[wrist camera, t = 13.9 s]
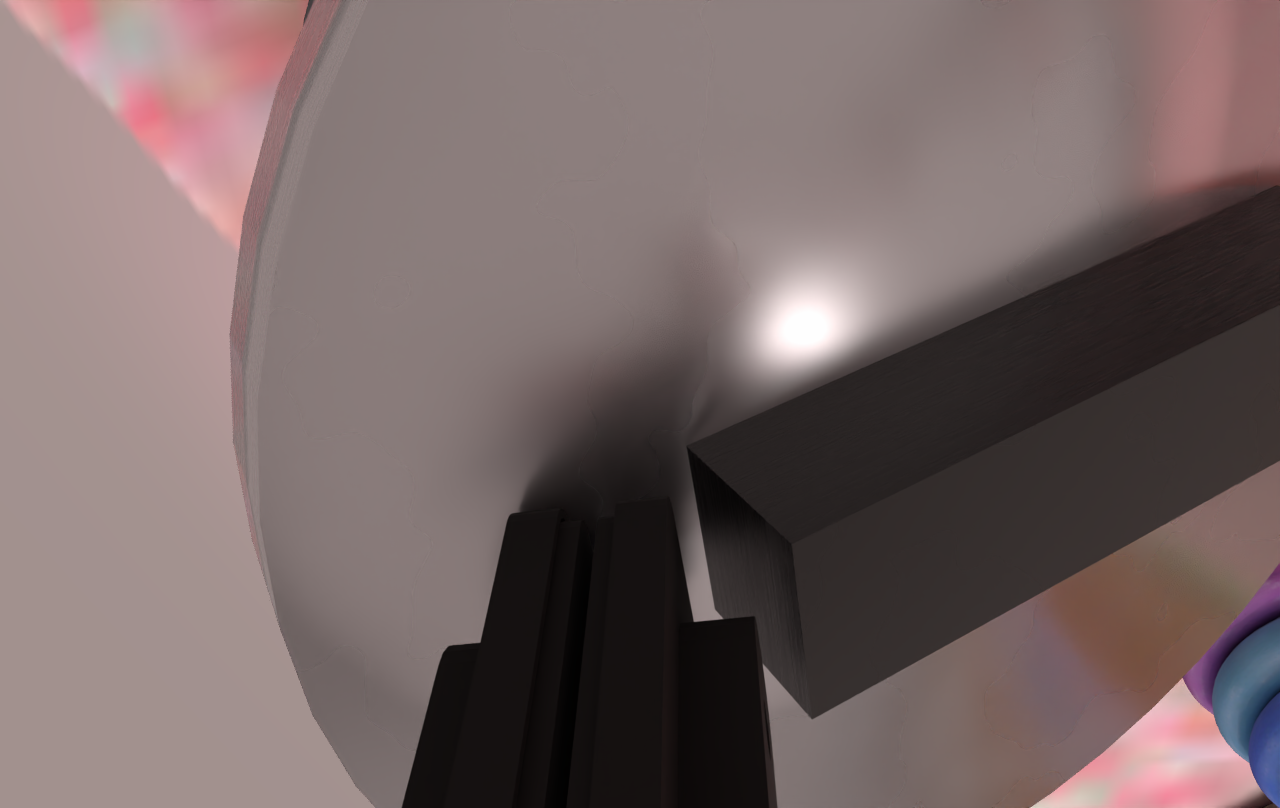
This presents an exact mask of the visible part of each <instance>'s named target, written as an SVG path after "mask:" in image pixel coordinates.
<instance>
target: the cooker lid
mask: <svg viewBox="0 0 1280 808" xmlns="http://www.w3.org/2000/svg"><path fill="white" fill-rule="evenodd" d="M230 356H231V386H232V418H233V443H234V449H235V453H236V459H237V464H238V469H239V474H240V480H241V484H242V490H243V495H244V500H245V505H246V511H247V516H248V521H249V526H250V532H251V537H252V541H253V544H254V547H255V550H256V554H257V557H258V560H259V563H260V566H261V570H262V573H263V576H264V579H265V582H266V585H267V589H268V592H269V595H270V598H271V602H272V605H273V608H274V611H275V614H276V618H277V621H278V624H279V627H280V630H281V633H282V635H283V638H284V641H285V643H286V646H287V649H288V651H289V654H290V656H291V659H292V662H293V664H294V667H295V670H296V672H297V675H298V678H299V680H300V683H301V686H302V688H303V691H304V694H305V696H306V699H307V702H308V704H309V707H310V710H311V712H312V715H313V717H314V718H315V720H316V721H317V723H318V725H319V726H320V728H321V730H322V731H323V733H324V735H325V736H326V738H327V739H328V741H329V743H330V745H331V746H332V748H333V749H334V751H335V753H336V754H337V756H338V758H339V759H340V761H341V763H342V764H343V766H344V767H345V769H346V771H347V772H348V774H349V775H350V777H351V779H352V780H353V782H354V784H355V786H356V787H357V788H358V789H359V790H360V791H361V792H362V793H363V795H365V797H366V798H367V799H368V800H369V801H370V802H371V803H372V804H373V805H374V807H375V808H402V804H403V800H404V796H405V792H406V789H407V785H408V781H409V777H410V773H411V769H412V765H413V762H414V758H415V754H416V750H417V746H418V742H419V738H420V734H421V731H422V727H423V723H424V719H425V715H426V711H427V707H428V704H429V700H430V696H431V692H432V688H433V684H434V680H435V676H436V673H437V669H438V665H439V662H440V659H441V657H442V654H443V652H444V651H445V649H446V648H447V647H448V646H450V645H460V644H471V643H480V642H481V637H482V633H483V628H484V623H485V619H486V614H487V610H488V605H489V601H490V596H491V592H492V587H493V582H494V578H495V573H496V569H497V564H498V560H499V555H500V551H501V546H502V541H503V537H504V532H505V528H506V523H507V520H508V517H509V515H510V514H512V513H518V512H527V511H537V510H546V509H555V508H563V509H564V510H565V512H566V514H567V517H568V520H569V521H572V520H581V519H583V520H585V522H586V525H587V528H588V532H589V536H590V540H591V544H592V548H593V552H594V543H595V534H596V525H597V519H598V518H599V517H608V516H614V515H615V506H616V503H617V502H618V501H627V500H636V499H645V498H654V497H663V496H669V497H670V500H671V504H672V508H673V513H674V518H675V524H676V529H677V534H678V540H679V545H680V550H681V556H682V561H683V566H684V572H685V577H686V582H687V588H688V593H689V598H690V604H691V609H692V614H693V620H694V622H698V621H708V620H719V619H729V618H739V617H750V616H755V618H756V623H757V629H758V635H759V642H760V649H761V656H762V663H763V670H764V678H765V686H766V694H767V702H768V711H769V720H770V729H771V739H772V750H773V761H774V773H775V784H776V796H777V807H778V808H1030V807H1032V806H1033V805H1035V804H1036V803H1037V802H1039V801H1040V800H1042V799H1043V798H1045V797H1046V796H1048V795H1049V794H1051V793H1052V792H1053V791H1055V790H1056V789H1057V788H1058V787H1060V786H1061V785H1062V784H1064V783H1065V782H1066V781H1067V780H1069V779H1070V778H1071V777H1072V776H1074V775H1075V774H1076V773H1078V772H1079V771H1080V770H1081V769H1083V768H1084V767H1085V766H1086V765H1088V764H1089V763H1090V762H1092V761H1093V760H1094V759H1095V758H1097V757H1098V756H1099V755H1100V754H1102V753H1103V752H1104V751H1105V750H1106V749H1107V748H1108V747H1110V746H1111V745H1112V744H1113V743H1114V742H1115V741H1116V740H1117V739H1119V738H1120V737H1121V736H1122V735H1123V734H1124V733H1125V732H1126V731H1127V730H1129V729H1130V728H1131V727H1132V726H1133V725H1134V724H1135V723H1136V722H1137V721H1139V720H1140V719H1141V718H1142V717H1143V716H1144V715H1145V714H1146V713H1148V712H1149V711H1150V710H1151V709H1152V708H1153V707H1154V706H1155V705H1156V704H1157V703H1158V702H1159V701H1160V700H1161V699H1162V698H1163V697H1164V696H1165V695H1166V694H1167V693H1168V692H1169V691H1170V690H1171V689H1172V688H1173V687H1174V686H1175V685H1176V684H1177V683H1178V682H1179V681H1180V680H1181V679H1182V677H1183V676H1184V675H1185V674H1186V673H1187V672H1188V671H1189V670H1190V669H1191V668H1192V667H1193V666H1194V665H1195V664H1196V663H1197V662H1198V661H1199V660H1200V659H1201V658H1202V657H1203V655H1204V654H1205V653H1206V652H1207V651H1208V650H1209V649H1210V647H1211V646H1212V645H1213V644H1214V643H1215V642H1216V641H1217V640H1218V638H1219V637H1220V636H1221V635H1222V634H1223V633H1224V632H1225V630H1226V629H1227V628H1228V627H1229V626H1230V625H1231V624H1232V622H1233V621H1234V620H1235V619H1236V618H1237V617H1238V616H1239V614H1240V613H1241V612H1242V611H1243V610H1244V608H1245V607H1246V606H1247V604H1248V603H1249V602H1250V601H1251V599H1252V598H1253V597H1254V595H1255V594H1256V593H1257V592H1258V590H1259V589H1260V588H1261V587H1262V585H1263V584H1264V583H1265V581H1266V580H1267V579H1268V578H1269V576H1270V575H1271V574H1272V572H1273V571H1274V570H1275V569H1276V567H1277V566H1278V565H1279V563H1280V0H314V2H313V4H312V7H311V9H310V11H309V14H308V16H307V18H306V21H305V23H304V26H303V28H302V30H301V33H300V35H299V38H298V40H297V42H296V45H295V47H294V50H293V52H292V54H291V57H290V59H289V62H288V64H287V66H286V69H285V71H284V74H283V76H282V78H281V81H280V83H279V86H278V88H277V90H276V94H275V98H274V102H273V105H272V109H271V113H270V117H269V120H268V124H267V128H266V132H265V136H264V139H263V143H262V147H261V151H260V155H259V158H258V162H257V166H256V170H255V174H254V177H253V181H252V185H251V189H250V193H249V196H248V200H247V204H246V208H245V212H244V216H243V224H242V233H241V241H240V250H239V258H238V267H237V276H236V285H235V293H234V302H233V310H232V320H231V327H230Z"/></svg>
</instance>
